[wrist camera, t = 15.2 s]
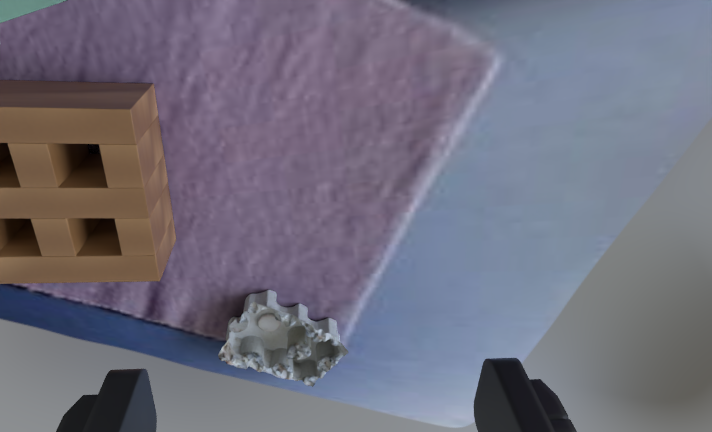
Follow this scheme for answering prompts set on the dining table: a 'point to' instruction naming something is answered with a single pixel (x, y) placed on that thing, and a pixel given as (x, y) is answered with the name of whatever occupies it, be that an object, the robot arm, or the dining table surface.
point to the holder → (82, 183)
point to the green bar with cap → (22, 7)
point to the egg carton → (281, 340)
